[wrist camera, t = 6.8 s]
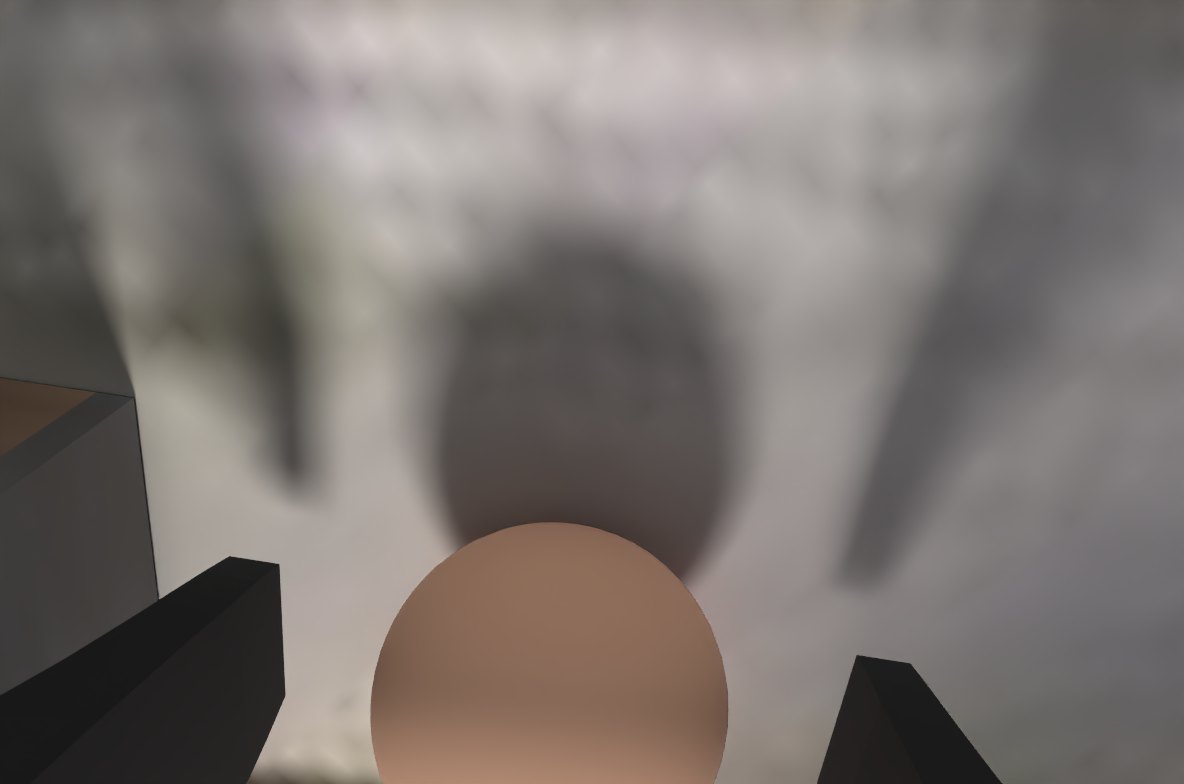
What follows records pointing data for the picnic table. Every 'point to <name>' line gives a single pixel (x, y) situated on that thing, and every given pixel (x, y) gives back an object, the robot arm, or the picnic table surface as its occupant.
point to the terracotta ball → (549, 668)
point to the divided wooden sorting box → (68, 524)
